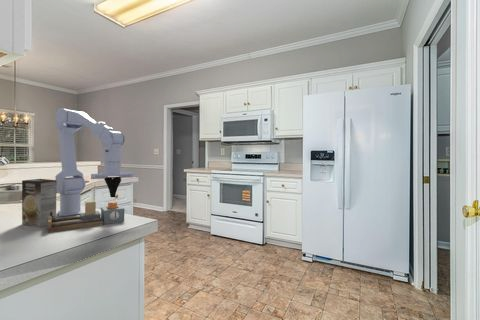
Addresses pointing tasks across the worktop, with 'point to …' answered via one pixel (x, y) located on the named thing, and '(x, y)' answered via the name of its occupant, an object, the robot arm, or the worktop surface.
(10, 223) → the worktop surface
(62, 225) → the track
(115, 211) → the end cabinet
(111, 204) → the button
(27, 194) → the coffee box
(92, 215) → the carriage
